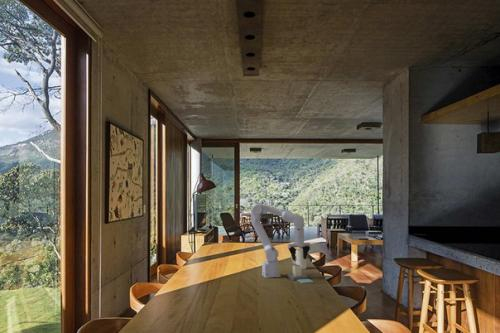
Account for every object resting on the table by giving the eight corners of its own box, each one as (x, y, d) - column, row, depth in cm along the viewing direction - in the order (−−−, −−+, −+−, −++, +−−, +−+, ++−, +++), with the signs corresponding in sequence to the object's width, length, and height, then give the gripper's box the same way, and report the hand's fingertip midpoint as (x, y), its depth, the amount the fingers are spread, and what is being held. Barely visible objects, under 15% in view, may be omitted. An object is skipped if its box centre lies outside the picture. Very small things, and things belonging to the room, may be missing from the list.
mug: (307, 267, 257) (306, 249, 258) (306, 269, 251) (306, 250, 251) (291, 267, 259) (291, 248, 260) (290, 269, 253) (290, 250, 253)
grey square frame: (292, 280, 222) (292, 277, 222) (287, 276, 231) (287, 274, 231) (307, 279, 225) (307, 276, 225) (301, 275, 233) (301, 273, 233)
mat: (302, 283, 214) (302, 282, 215) (297, 280, 221) (297, 279, 221) (313, 282, 216) (313, 281, 216) (308, 279, 223) (308, 278, 223)
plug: (295, 279, 225) (295, 266, 226) (292, 277, 229) (292, 264, 229) (301, 278, 226) (301, 265, 227) (298, 277, 230) (298, 264, 231)
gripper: (292, 237, 224) (292, 261, 223) (313, 236, 230) (313, 259, 230) (285, 236, 230) (286, 259, 230) (306, 234, 237) (306, 257, 236)
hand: (299, 259), depth 230 cm, fingers open, 7 cm apart
